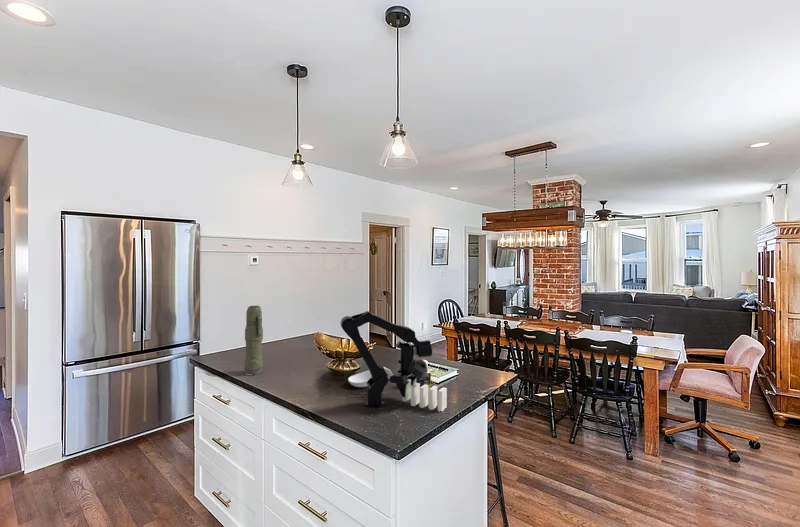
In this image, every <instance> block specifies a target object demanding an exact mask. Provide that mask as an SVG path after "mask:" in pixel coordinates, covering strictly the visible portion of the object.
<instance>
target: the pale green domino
mask: <svg viewBox="0 0 800 527" xmlns="http://www.w3.org/2000/svg"><path fill="white" fill-rule="evenodd" d="M407 381H409V383H408V384H407V386H406V394H405V397H402V396H401V402H404V403H407V402H408V401H409V400H411V379H407Z"/></svg>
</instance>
